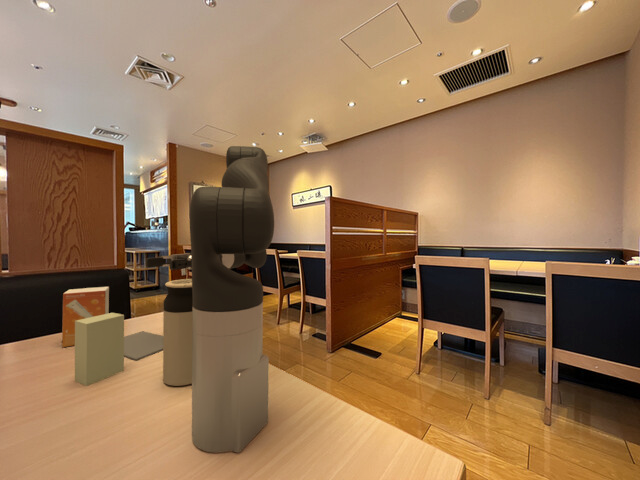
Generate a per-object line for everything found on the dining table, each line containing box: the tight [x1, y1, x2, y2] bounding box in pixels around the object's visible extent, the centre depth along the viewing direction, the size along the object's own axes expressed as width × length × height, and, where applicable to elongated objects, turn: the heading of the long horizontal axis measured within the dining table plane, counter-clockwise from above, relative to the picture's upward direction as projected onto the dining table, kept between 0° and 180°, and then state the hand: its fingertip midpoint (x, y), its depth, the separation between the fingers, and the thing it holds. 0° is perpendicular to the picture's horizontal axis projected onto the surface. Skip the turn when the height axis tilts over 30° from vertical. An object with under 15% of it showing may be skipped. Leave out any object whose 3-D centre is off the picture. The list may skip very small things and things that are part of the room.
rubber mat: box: [124, 330, 163, 362], centre depth 64 cm, size 16×11×1 cm
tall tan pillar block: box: [74, 312, 125, 387], centre depth 49 cm, size 4×6×11 cm, turn 155°
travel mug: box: [162, 278, 193, 387], centre depth 49 cm, size 8×8×18 cm
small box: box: [61, 286, 110, 348], centre depth 66 cm, size 8×6×13 cm
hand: (158, 264), depth 60 cm, fingers open, 8 cm apart
